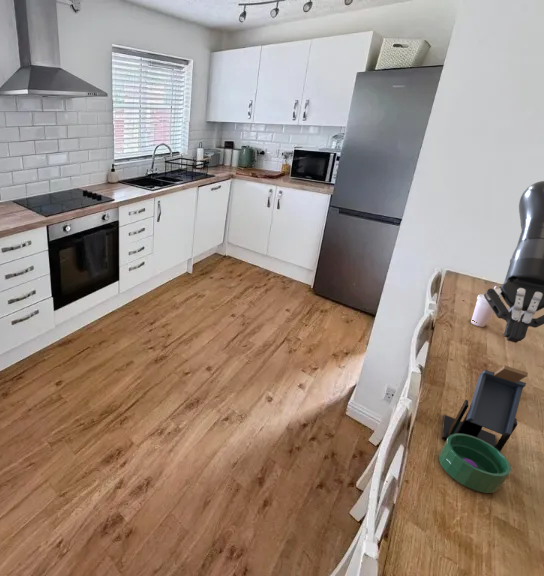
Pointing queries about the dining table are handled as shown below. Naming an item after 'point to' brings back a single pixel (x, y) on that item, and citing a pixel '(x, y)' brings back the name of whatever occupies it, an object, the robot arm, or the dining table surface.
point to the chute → (497, 399)
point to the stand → (471, 429)
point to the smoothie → (482, 311)
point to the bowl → (482, 454)
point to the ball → (470, 462)
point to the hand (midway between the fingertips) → (513, 340)
